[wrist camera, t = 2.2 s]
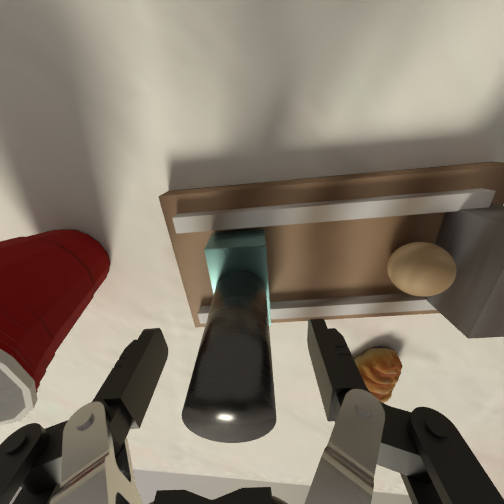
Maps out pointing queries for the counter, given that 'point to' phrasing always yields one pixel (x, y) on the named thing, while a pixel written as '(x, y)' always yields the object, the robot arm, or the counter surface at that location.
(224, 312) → the jaw
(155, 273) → the counter surface
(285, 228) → the base
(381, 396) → the pastry
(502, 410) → the counter surface
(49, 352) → the plastic cup
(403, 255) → the walnut
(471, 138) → the counter surface
